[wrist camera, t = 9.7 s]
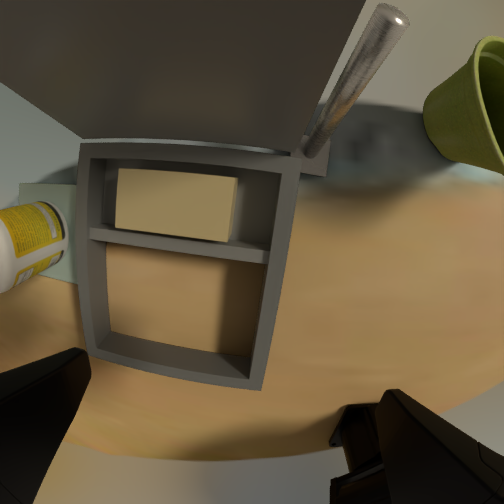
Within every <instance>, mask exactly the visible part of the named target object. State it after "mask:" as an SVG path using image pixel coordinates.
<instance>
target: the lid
mask: <svg viewBox="0 0 504 504" xmlns="http://www.w3.org/2000/svg"><path fill="white" fill-rule="evenodd" d="M365 1H366V0H0V82H1V83H3V84H4V85H5V86H7V87H8V88H10V89H11V90H13V91H14V92H15V93H17V94H19V95H20V96H21V97H23V98H24V99H26V100H27V101H29V102H30V103H31V104H33V105H34V106H36V107H37V108H39V109H40V110H42V111H43V112H44V113H46V114H48V115H49V116H50V117H52V118H53V119H55V120H56V121H58V122H59V123H60V124H62V125H63V126H65V127H66V128H68V129H69V130H71V131H72V132H74V133H75V134H76V135H78V136H79V137H81V138H82V139H97V138H149V139H174V140H191V141H204V142H216V143H226V144H236V145H244V146H252V147H260V148H267V149H274V150H281V151H287V152H294V153H295V152H296V149H297V147H298V145H299V143H300V141H301V139H302V136H303V134H304V132H305V130H306V128H307V126H308V124H309V121H310V119H311V117H312V115H313V113H314V111H315V108H316V106H317V104H318V102H319V100H320V98H321V95H322V93H323V91H324V89H325V87H326V85H327V83H328V81H329V78H330V76H331V74H332V72H333V70H334V68H335V65H336V63H337V61H338V59H339V57H340V55H341V53H342V51H343V48H344V46H345V44H346V42H347V40H348V38H349V36H350V33H351V31H352V29H353V27H354V25H355V23H356V21H357V19H358V16H359V14H360V12H361V10H362V8H363V6H364V3H365Z"/></svg>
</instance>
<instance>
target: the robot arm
mask: <svg viewBox="0 0 504 504" xmlns="http://www.w3.org/2000/svg"><path fill="white" fill-rule="evenodd" d="M90 379H91V367H90V362H89V357H88V353H87V352H86V351H85V350H83V349H80V348H77V347H74V348H71V349H68V350H65V351H62V352H60V353H57V354H54V355H51V356H49V357H46V358H43V359H40V360H37V361H35V362H32V363H29V364H26V365H23V366H20V367H17V368H14V369H11V370H9V371H6V372H3V373H0V504H33V502H34V499H35V497H36V495H37V492H38V490H39V488H40V486H41V483H42V481H43V479H44V477H45V475H46V473H47V470H48V468H49V466H50V464H51V462H52V460H53V458H54V456H55V454H56V452H57V450H58V448H59V446H60V444H61V442H62V440H63V438H64V436H65V434H66V432H67V430H68V428H69V426H70V425H71V423H72V421H73V419H74V417H75V415H76V413H77V410H78V408H79V405H80V403H81V400H82V398H83V395H84V393H85V391H86V388H87V386H88V384H89V381H90ZM329 446H330V447H341V446H343V449H344V453H345V457H346V461H347V465H348V469H349V473H348V474H345V475H343V476H340V477H338V478H337V477H336V478H333V479H331V486H330V504H504V456H502V455H500V454H498V453H496V452H494V451H492V450H491V449H489V448H488V447H486V446H484V445H483V444H481V443H480V442H477V441H476V440H475V439H473V438H472V437H470V436H469V435H467V434H466V433H464V432H462V431H461V430H459V429H458V428H456V427H455V426H453V425H452V424H450V423H449V422H447V421H446V420H444V419H443V418H441V417H440V416H438V415H437V414H435V413H434V412H432V411H431V410H429V409H428V408H426V407H425V406H423V405H422V404H420V403H419V402H417V401H416V400H414V399H413V398H411V397H410V396H408V395H407V394H405V393H404V392H403V391H401V390H400V389H388V390H386V391H385V392H384V394H383V396H382V398H381V400H380V402H379V404H363V405H349V406H348V407H346V409H345V411H344V413H343V415H342V417H341V419H340V421H339V423H338V425H337V427H336V429H335V431H334V433H333V435H332V437H331V439H330V441H329Z"/></svg>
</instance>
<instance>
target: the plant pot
mask: <svg viewBox="0 0 504 504" xmlns="http://www.w3.org/2000/svg"><path fill="white" fill-rule="evenodd" d="M423 121H424V126H425V129H426V132H427V135H428V137H429V139H430V140H431V141H432V142H433V144H434V145H435V146H436V147H437V149H438V150H439V152H440V153H441V154H442V155H443V156H444V157H446V158H447V159H449V160H452V161H456V162H460V163H465V164H469V165H473V166H477V167H481V168H484V169H487V170H491V171H494V172H497V173H500V174H502V175H503V176H504V39H503V38H501V37H497V36H487V37H485V38H483V39H481V40H480V41H479V42H478V43H477V45H476V46H475V48H474V51H473V54H472V55H471V56H470V58H469V60H468V62H467V63H466V64H465V65H464V66H463V67H461V68H460V69H459V70H458V71H457V72H455V73H454V74H453V75H452V76H451V77H449V78H448V79H447V80H445V81H444V82H443V83H442V84H440V85H439V86H437V87H436V88H435V89H434V90H433V91H431V92H430V94H429V95H428V96H427V98H426V100H425V102H424V106H423Z"/></svg>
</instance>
